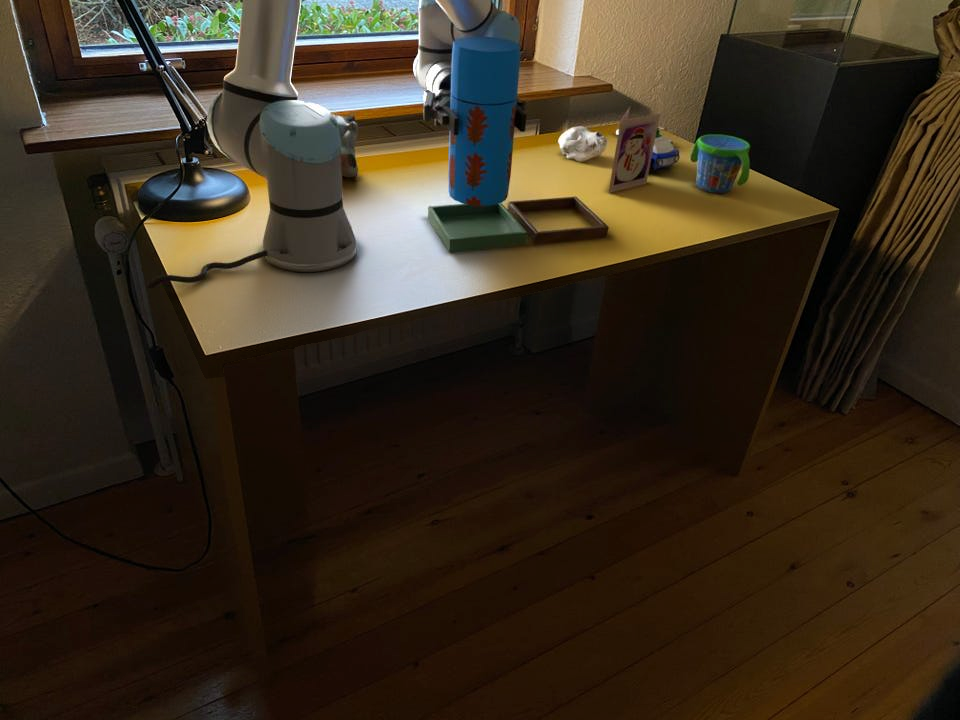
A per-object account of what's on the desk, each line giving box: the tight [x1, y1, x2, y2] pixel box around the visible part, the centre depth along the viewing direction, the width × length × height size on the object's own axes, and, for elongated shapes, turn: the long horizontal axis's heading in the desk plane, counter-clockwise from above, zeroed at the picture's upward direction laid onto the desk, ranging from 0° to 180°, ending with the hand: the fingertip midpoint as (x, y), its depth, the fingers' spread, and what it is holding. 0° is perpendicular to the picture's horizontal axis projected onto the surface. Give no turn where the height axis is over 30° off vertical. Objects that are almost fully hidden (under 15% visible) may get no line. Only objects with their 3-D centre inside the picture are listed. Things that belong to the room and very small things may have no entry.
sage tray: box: [427, 202, 528, 253], centre depth 133 cm, size 14×14×2 cm
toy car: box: [648, 125, 681, 173], centre depth 166 cm, size 9×12×10 cm
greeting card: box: [608, 106, 661, 194], centre depth 154 cm, size 11×7×15 cm, turn 126°
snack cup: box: [689, 133, 751, 194], centre depth 156 cm, size 16×10×10 cm
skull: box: [557, 125, 608, 163], centre depth 168 cm, size 8×9×12 cm
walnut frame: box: [507, 196, 610, 245], centre depth 138 cm, size 14×14×2 cm
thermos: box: [447, 37, 521, 206], centre depth 123 cm, size 11×11×25 cm
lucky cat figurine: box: [334, 113, 359, 180], centre depth 149 cm, size 15×12×14 cm
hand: (490, 125), depth 119 cm, fingers closed on thermos, 11 cm apart
